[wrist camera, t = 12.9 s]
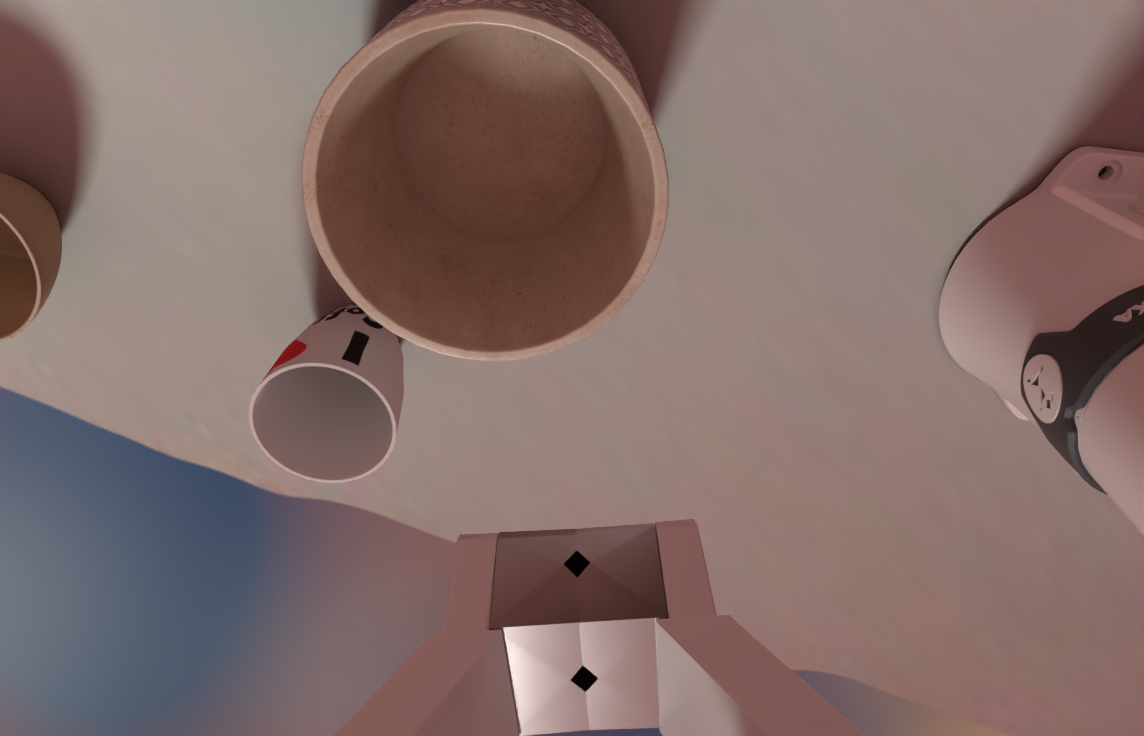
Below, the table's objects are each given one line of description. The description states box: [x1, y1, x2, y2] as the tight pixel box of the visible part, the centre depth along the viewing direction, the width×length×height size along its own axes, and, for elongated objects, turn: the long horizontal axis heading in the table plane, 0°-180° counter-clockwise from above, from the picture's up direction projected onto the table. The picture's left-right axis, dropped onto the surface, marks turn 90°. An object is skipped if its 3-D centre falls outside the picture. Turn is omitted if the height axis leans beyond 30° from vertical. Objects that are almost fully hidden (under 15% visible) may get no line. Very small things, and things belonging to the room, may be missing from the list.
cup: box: [249, 305, 404, 483], centre depth 51 cm, size 8×8×10 cm
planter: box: [302, 0, 669, 361], centre depth 43 cm, size 16×16×13 cm
